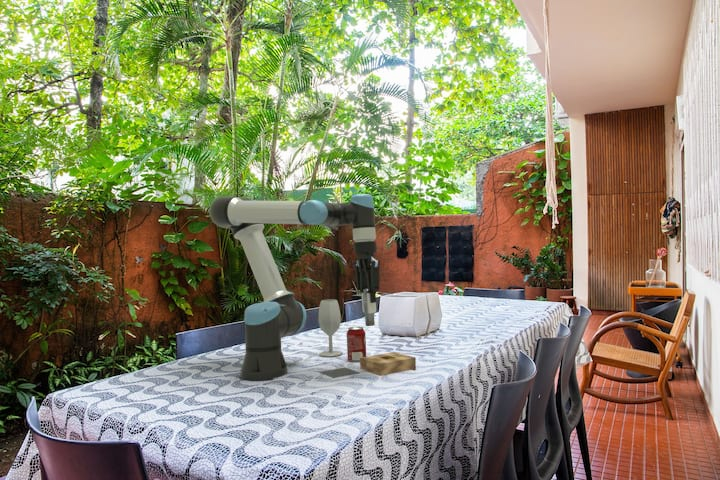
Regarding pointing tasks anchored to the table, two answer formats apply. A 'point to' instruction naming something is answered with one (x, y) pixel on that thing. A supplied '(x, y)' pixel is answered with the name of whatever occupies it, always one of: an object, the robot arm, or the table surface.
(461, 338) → the table surface
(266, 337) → the robot arm
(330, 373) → the mat
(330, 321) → the wineglass
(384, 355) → the hole block
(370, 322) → the pin
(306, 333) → the table surface
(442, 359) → the table surface
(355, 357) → the soda can
